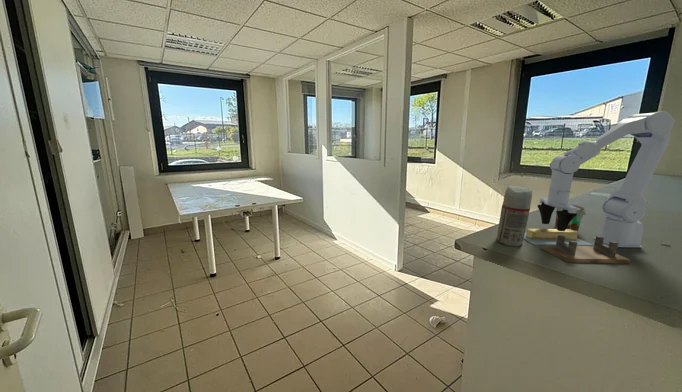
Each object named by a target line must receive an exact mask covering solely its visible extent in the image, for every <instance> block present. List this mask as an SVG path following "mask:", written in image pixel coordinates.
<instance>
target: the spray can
mask: <svg viewBox="0 0 682 392" xmlns="http://www.w3.org/2000/svg"><path fill="white" fill-rule="evenodd" d="M503 196H504V197H503V203H502V205H501V210H500V216H499V222H498V227H497V235H496V236H497V237H496V239H495V240H496V241H497V242H498V243H501V244H503V245H506V246H510V247H522V246H523V242H524V235H525V232H526V231H527V224H528V221H529V217H530V216H529V215H530V210H531V205H532V199H533V189H531V188H528V187H526V186H523V185H508V186H507V187H506V189H505V192H504V195H503Z"/></svg>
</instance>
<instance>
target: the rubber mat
mask: <svg viewBox="0 0 682 392" xmlns="http://www.w3.org/2000/svg"><path fill="white" fill-rule="evenodd" d="M526 233H527V231H525V235H524V239H523V241H526V242H528V243H529V244H531V245H533V246H544V245H556V242H557V240H545V239H530V238H528V237H526ZM569 241H576V242H577V246H594V244H592V243H589V242H588V241H585V240H584V239H581V238H578V237H577V240H565V241H564V243H566V244H568V245H569Z"/></svg>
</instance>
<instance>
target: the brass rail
mask: <svg viewBox="0 0 682 392" xmlns="http://www.w3.org/2000/svg"><path fill="white" fill-rule="evenodd" d="M526 232H527V233H526V237H528V238H530V239H545V240H557V237H558V235H559V236H565V240H577V238H578V235H579V231H578V232H577V231H574V230H572V229H566V230H565V231H558V230H557V228H526Z"/></svg>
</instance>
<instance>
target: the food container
mask: <svg viewBox="0 0 682 392" xmlns="http://www.w3.org/2000/svg"><path fill="white" fill-rule="evenodd" d="M569 204H570V205H572V206H574V207H577V211H576V213H577V215H576V216H575V217H574V218H573V219H572V220H571V221H570V223H569V224H568V226H567V228H566V229H572V230H574V231H577V232H578V233H579V229H580V225H581V224H582V219H583V217H584V216H586V214H587V212H586V211H587V210H586V208H585V207H584V206H580V205H578V204H577V205H576V204H571V203H569ZM556 211H563V210H561V209H558V208H556ZM555 214H556V215H555V221H554V222H555V223H554V228H557V225H558V217H557V213H556V212H555Z"/></svg>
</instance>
